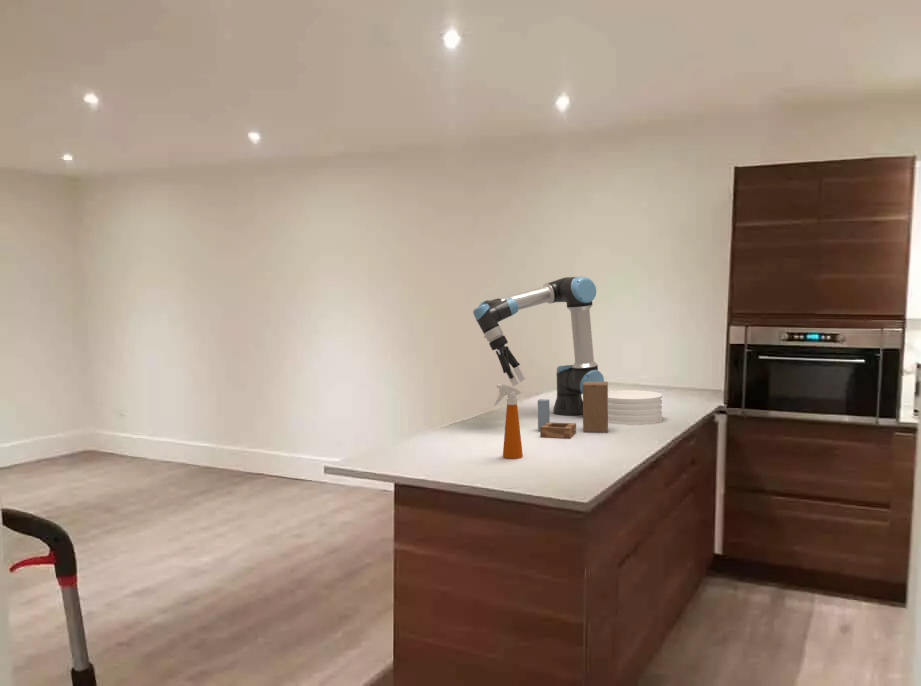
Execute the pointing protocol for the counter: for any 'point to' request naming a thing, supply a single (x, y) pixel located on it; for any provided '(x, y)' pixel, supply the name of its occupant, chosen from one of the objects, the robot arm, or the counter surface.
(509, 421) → the spray bottle
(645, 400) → the plate stack
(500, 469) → the counter surface
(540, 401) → the tall blue pillar
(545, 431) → the square wooden frame
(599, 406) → the wooden block
